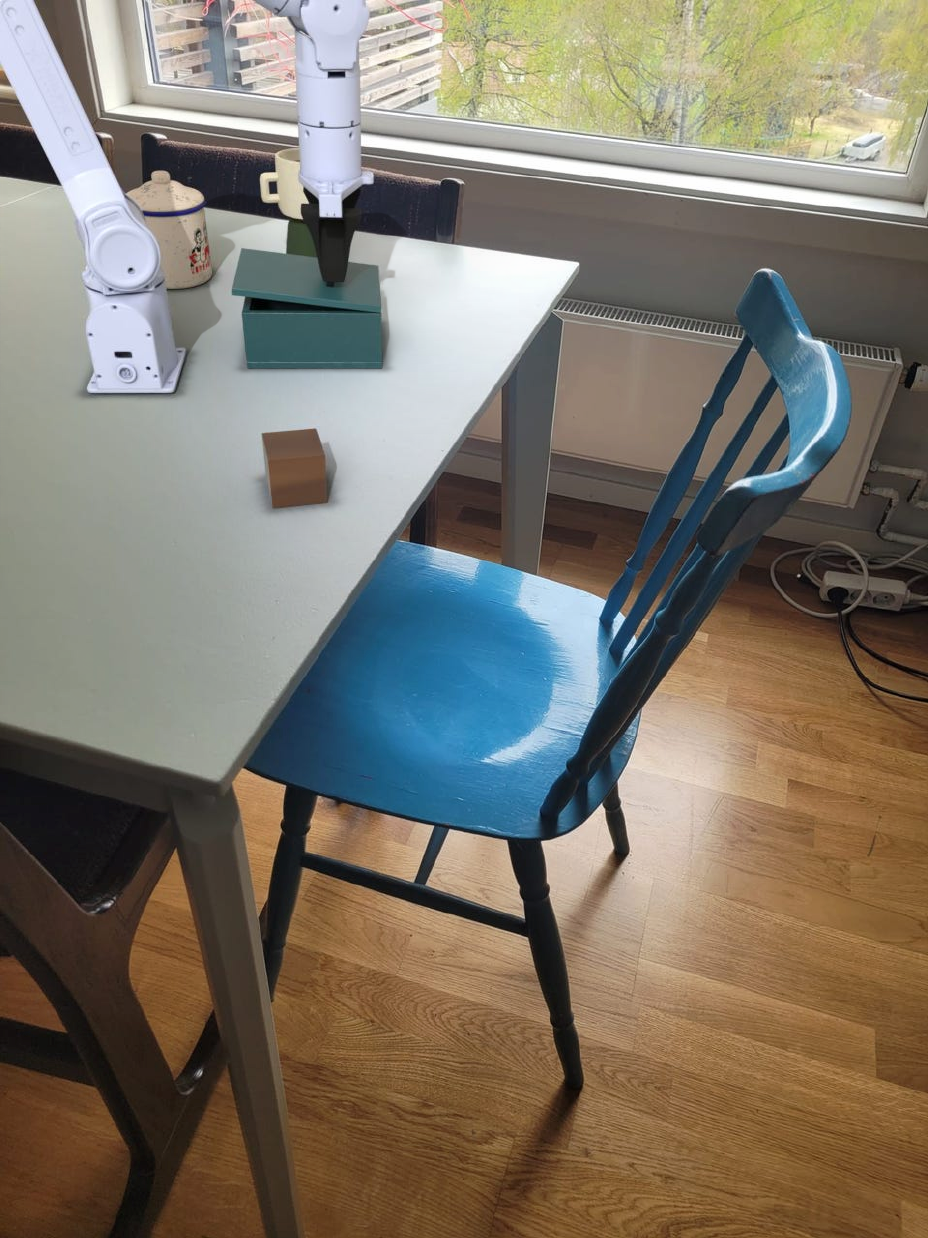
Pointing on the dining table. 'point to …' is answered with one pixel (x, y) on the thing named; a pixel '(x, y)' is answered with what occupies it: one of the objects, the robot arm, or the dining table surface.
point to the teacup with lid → (176, 229)
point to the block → (294, 467)
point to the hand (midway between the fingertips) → (333, 270)
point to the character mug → (289, 201)
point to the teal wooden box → (309, 336)
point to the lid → (305, 281)
